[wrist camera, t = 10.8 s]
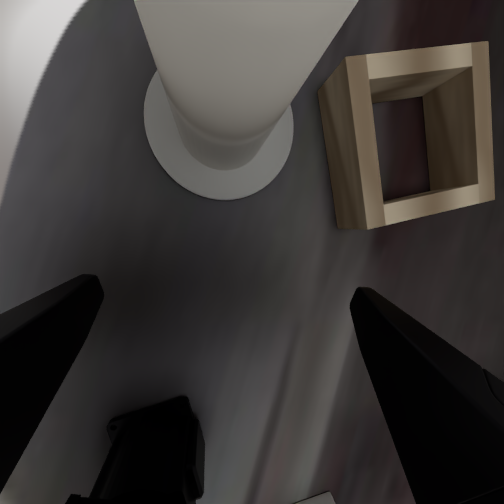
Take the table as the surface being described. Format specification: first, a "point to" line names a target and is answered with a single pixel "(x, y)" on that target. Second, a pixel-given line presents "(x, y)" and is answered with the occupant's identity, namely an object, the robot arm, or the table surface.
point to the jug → (235, 66)
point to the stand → (436, 128)
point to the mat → (200, 176)
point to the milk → (319, 499)
